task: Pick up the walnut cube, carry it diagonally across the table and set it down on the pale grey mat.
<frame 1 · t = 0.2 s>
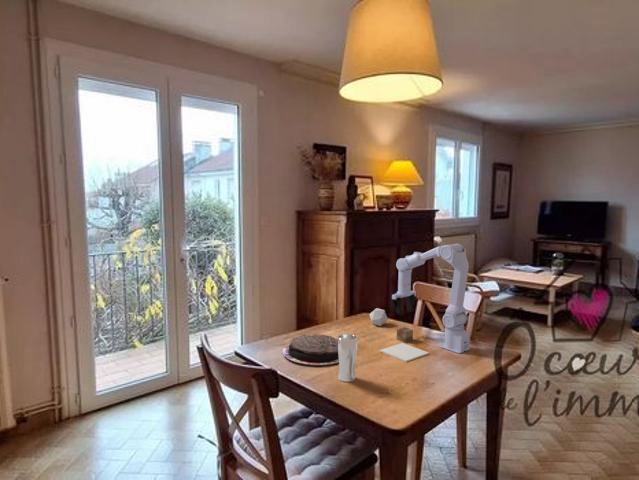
hand: (403, 312, 196), 10 cm above the table, fingers open, 7 cm apart
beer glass: (346, 378, 147), on the table
walnut cube: (404, 340, 187), on the table
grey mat: (404, 352, 172), on the table
chocolate cake: (316, 354, 170), on the table
die: (378, 325, 209), on the table
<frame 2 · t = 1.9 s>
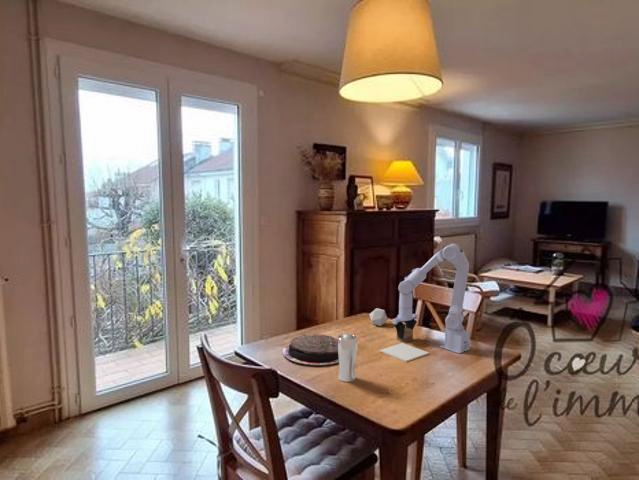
hand: (404, 336, 187), 1 cm above the table, fingers closed on walnut cube, 5 cm apart
walnut cube: (404, 340, 187), on the table, touching gripper
everything else where it was.
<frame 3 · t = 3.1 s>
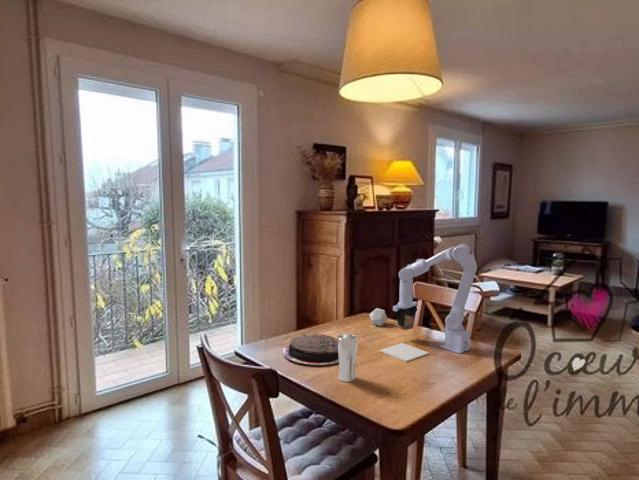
hand: (405, 324, 186), 7 cm above the table, fingers closed on walnut cube, 5 cm apart
walnut cube: (405, 327, 186), point 6 cm above the table, touching gripper
everything else where it was.
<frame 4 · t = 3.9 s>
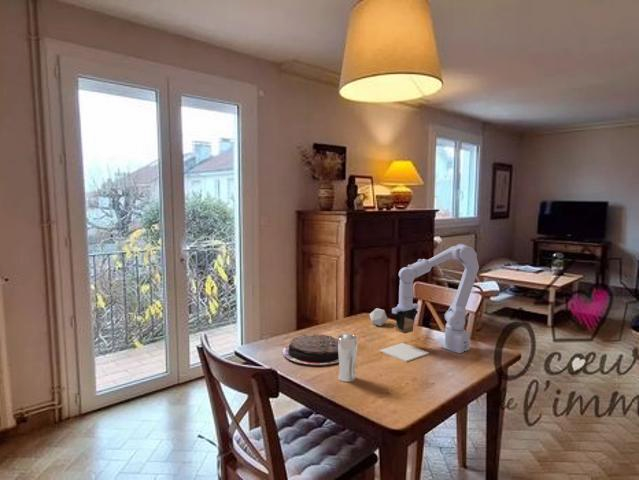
hand: (404, 327, 178), 8 cm above the table, fingers closed on walnut cube, 5 cm apart
walnut cube: (404, 330, 178), point 7 cm above the table, touching gripper
everything else where it was.
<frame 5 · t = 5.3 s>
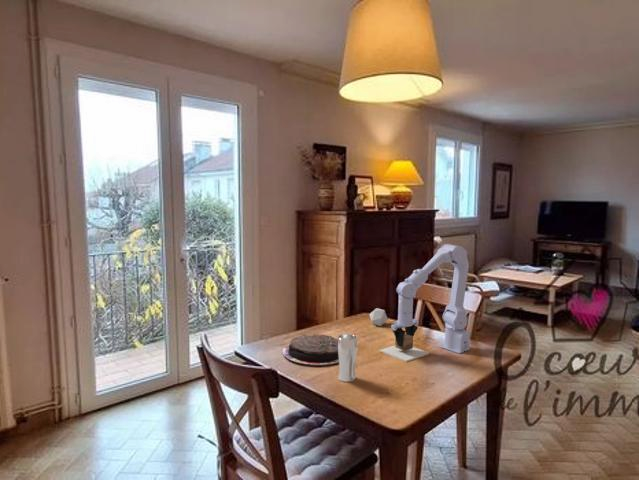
hand: (404, 344, 171), 4 cm above the table, fingers closed on walnut cube, 5 cm apart
walnut cube: (404, 347, 172), point 2 cm above the table, touching gripper
everything else where it was.
when the fingers open (4 cm above the table, at t = 6.2 s): walnut cube drops 1 cm, resting on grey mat.
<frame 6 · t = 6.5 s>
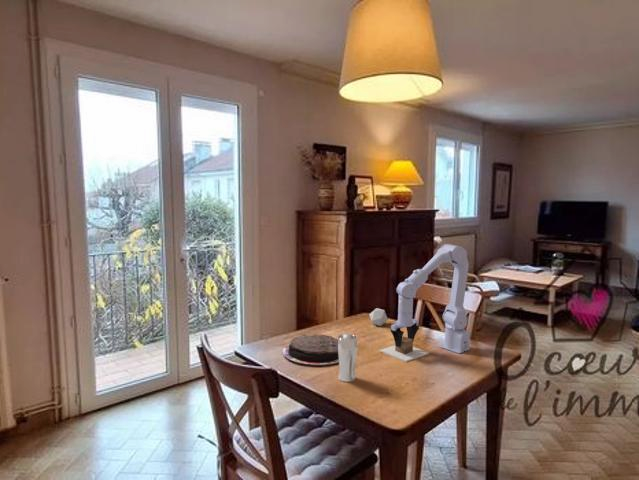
hand: (404, 344, 171), 4 cm above the table, fingers open, 7 cm apart
walnut cube: (403, 351, 172), point 1 cm above the table, touching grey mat
everything else where it was.
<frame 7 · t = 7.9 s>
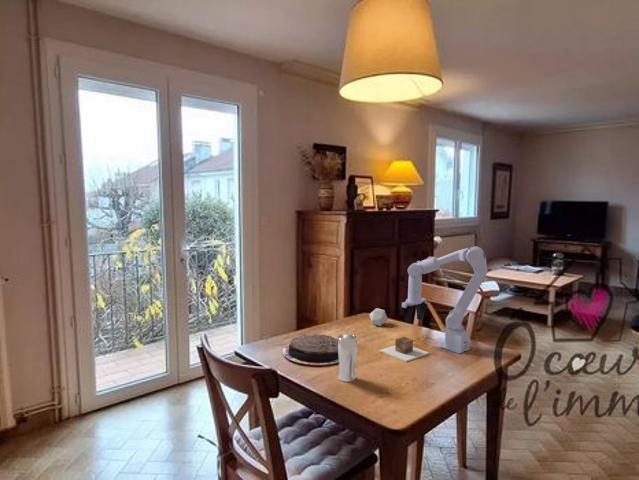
hand: (413, 321, 184), 9 cm above the table, fingers open, 7 cm apart
nothing on the table moved.
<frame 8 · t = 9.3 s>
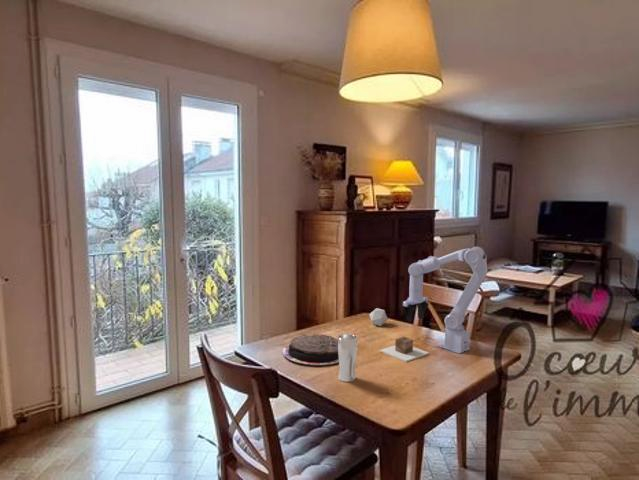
hand: (415, 319, 185), 9 cm above the table, fingers open, 7 cm apart
nothing on the table moved.
at the end: walnut cube inside the target area on the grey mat (0.1 cm from its centre), point 0.6 cm above the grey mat's base; walnut cube tilted 0°; the gripper is holding nothing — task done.
